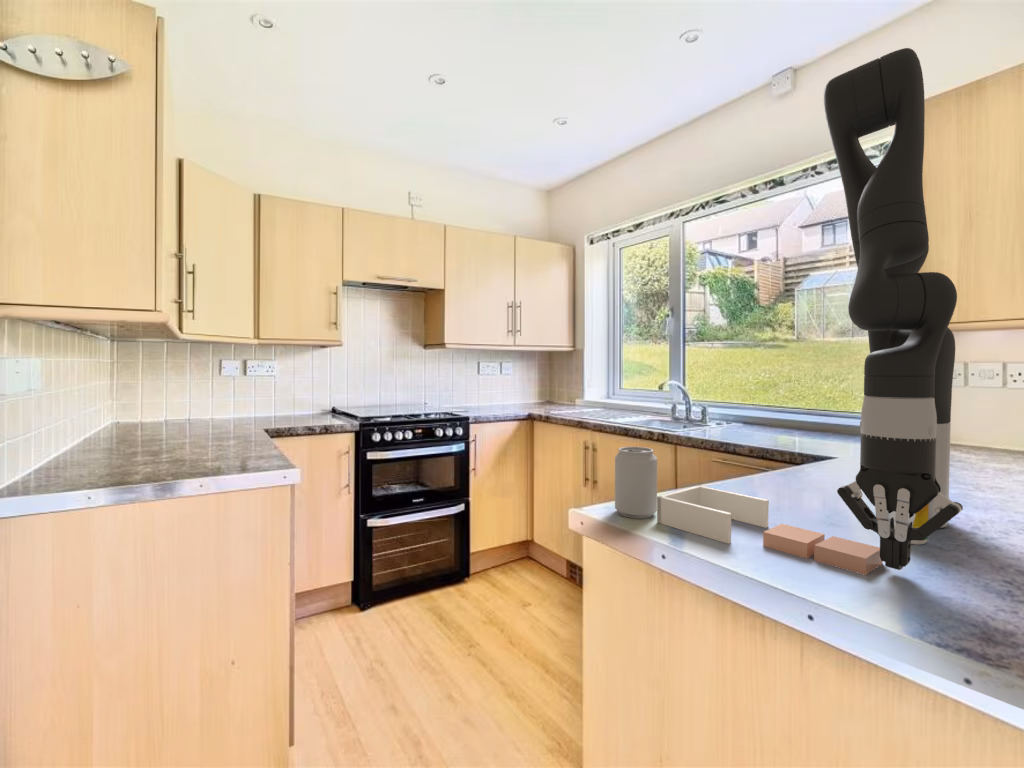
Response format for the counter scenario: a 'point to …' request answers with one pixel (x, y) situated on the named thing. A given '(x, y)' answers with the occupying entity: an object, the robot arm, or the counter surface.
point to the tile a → (792, 540)
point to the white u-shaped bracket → (710, 511)
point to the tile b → (848, 554)
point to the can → (636, 482)
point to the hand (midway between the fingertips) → (894, 566)
